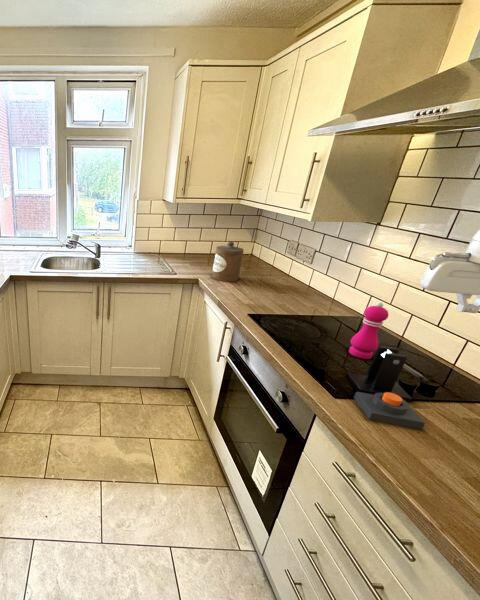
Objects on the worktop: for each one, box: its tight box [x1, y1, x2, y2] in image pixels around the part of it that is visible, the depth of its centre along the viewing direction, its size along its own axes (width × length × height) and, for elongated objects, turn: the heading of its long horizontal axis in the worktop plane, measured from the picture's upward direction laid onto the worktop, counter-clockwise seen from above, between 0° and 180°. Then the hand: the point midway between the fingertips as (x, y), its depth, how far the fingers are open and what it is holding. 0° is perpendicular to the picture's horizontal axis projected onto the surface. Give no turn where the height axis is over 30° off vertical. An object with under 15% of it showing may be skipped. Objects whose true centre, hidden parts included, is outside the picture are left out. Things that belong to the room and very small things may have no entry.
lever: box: [381, 349, 430, 385], centre depth 90 cm, size 12×5×2 cm
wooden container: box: [211, 241, 244, 282], centre depth 187 cm, size 15×15×22 cm
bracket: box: [346, 345, 413, 403], centre depth 92 cm, size 12×9×13 cm
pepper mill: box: [348, 301, 389, 360], centre depth 108 cm, size 7×7×20 cm
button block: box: [353, 391, 426, 430], centre depth 84 cm, size 11×9×4 cm
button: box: [382, 392, 402, 406], centre depth 83 cm, size 4×4×2 cm
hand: (466, 311), depth 75 cm, fingers closed
